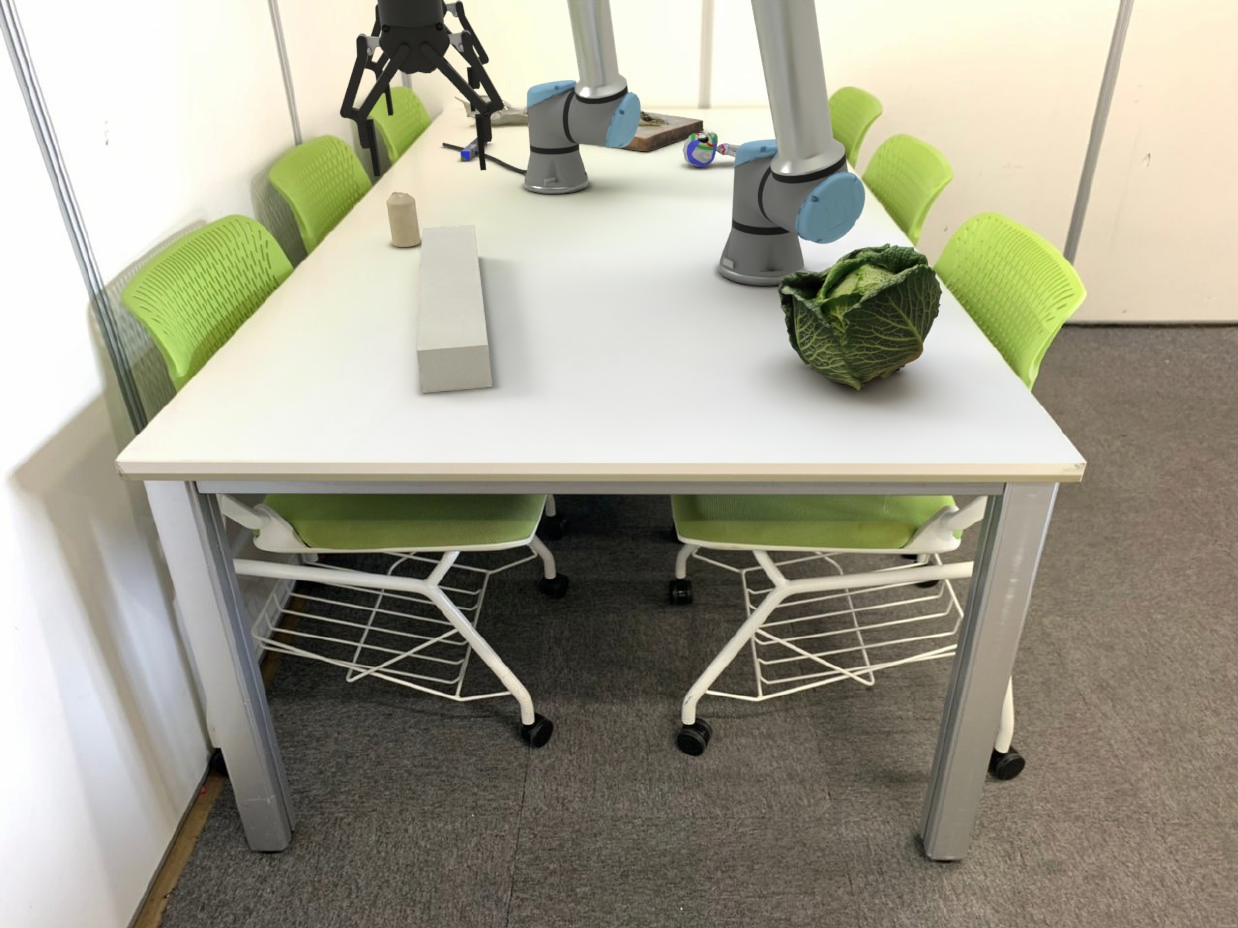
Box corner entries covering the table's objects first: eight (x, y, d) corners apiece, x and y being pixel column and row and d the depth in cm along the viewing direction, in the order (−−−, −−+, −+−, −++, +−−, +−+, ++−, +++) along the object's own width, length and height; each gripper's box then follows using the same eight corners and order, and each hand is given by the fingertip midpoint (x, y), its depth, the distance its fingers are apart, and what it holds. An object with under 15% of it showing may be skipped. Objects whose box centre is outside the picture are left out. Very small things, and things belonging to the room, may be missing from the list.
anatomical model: (463, 88, 279) (541, 86, 276) (467, 119, 284) (543, 118, 281) (448, 97, 267) (529, 96, 263) (453, 130, 272) (532, 129, 268)
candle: (425, 240, 182) (419, 190, 176) (411, 248, 177) (404, 198, 172) (401, 237, 183) (394, 188, 178) (387, 246, 179) (379, 195, 174)
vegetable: (807, 399, 136) (749, 288, 129) (909, 328, 138) (857, 214, 130) (877, 433, 118) (813, 305, 110) (993, 351, 119) (938, 219, 112)
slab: (426, 261, 171) (422, 227, 168) (477, 258, 173) (474, 224, 169) (422, 393, 126) (416, 350, 122) (492, 387, 127) (488, 344, 123)
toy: (807, 147, 224) (690, 133, 219) (799, 181, 228) (684, 168, 224) (796, 138, 233) (684, 124, 228) (789, 171, 237) (678, 158, 232)
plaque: (647, 125, 237) (559, 112, 252) (647, 153, 241) (560, 139, 256) (706, 107, 258) (622, 97, 273) (705, 133, 262) (622, 121, 277)
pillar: (486, 135, 252) (468, 152, 235) (487, 143, 253) (468, 161, 236) (479, 135, 252) (460, 152, 236) (480, 143, 253) (461, 160, 237)
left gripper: (329, -29, 134) (354, 120, 145) (497, -33, 137) (508, 112, 149) (334, -32, 140) (357, 111, 152) (494, -36, 144) (505, 104, 155)
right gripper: (294, -6, 101) (330, 184, 113) (515, -13, 105) (528, 172, 116) (303, -12, 108) (335, 169, 119) (511, -18, 111) (523, 158, 122)
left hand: (432, 112), depth 150 cm, fingers open, 13 cm apart
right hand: (430, 171), depth 117 cm, fingers open, 13 cm apart
